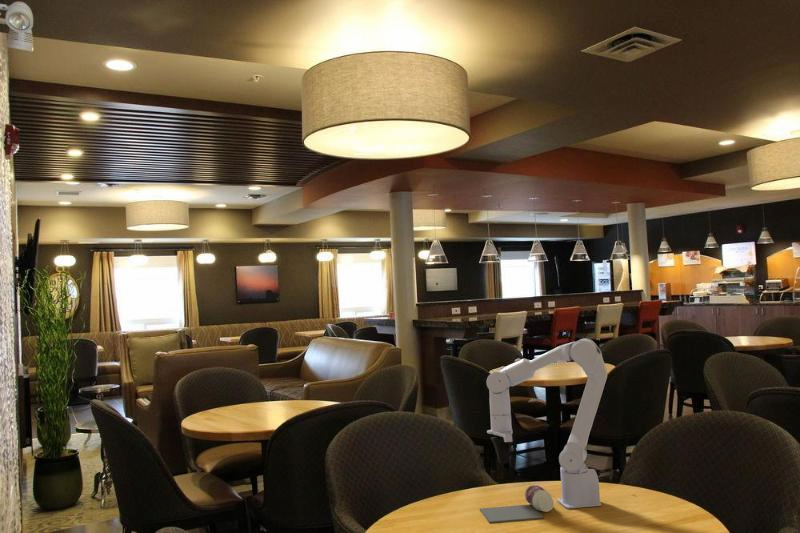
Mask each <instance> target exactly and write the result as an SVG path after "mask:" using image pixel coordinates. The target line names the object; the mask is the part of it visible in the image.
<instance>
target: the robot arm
mask: <svg viewBox="0 0 800 533" xmlns="http://www.w3.org/2000/svg"><path fill="white" fill-rule="evenodd" d="M558 361H563V362H564V361H565V362H570V361H573V362H575V363H576V364H577V365H578V366H579V367H580V368H582V370H583V373H584V374H585V376H587V379H586V380H587V381H586V383H585V387H584V390H583V394H582V396H581V400H580V403H579V407H578V409H577V413H576V415H575V419H574V422H573V425H572V428H571V432H570V435H569V437H568V440H567V443H566V444H565V445H564V447H563V450H562V451H561V452H560V453H559V456H558V462H559V465H560V467H559V468H560V470H559V471H560V486H561V487H560V488H561V489H560V490H561V498H559V497H558V498H557V499H556V501H558V503H559V504H561V505H562V506H563V507H564V508H566V509H580V508H591V507H601V506H602V503H601V496H600V482H599V477H598V474H597V471H596V470H595V469H594V468H588V466H587V465H586V463H585V461H586V459H587V457H588V451H587V445H588V440H589V436H590V432H591V430H592V427H593V423H594V420H595V417H596V414H597V412H598V408H599V404H600V402H601V398H602V395H603V391H604V388H605V384H606V382H607V378H608V372H607V368H606V364H605V361H604V358H603V354H602V350H601V349H600V347H599V346H598V345H597V344H596V343H595V341H593V340H592V339H590V338H587V337H586V338H580V339H579V340H576V341H572V342H569V343H565V344H564V343H563V344H562V345H559V346H557V347H555V348H553V349H551V350H548V351H547V352H545V353H543V354H541V355H539V356H537V357H535V358H533V359H532V360H530V359H527V358H522V359H521V358H516V359H515V360H514V362H513V363H510V364H508V365H507V366H503V365H502V366H501V367H499V369H500V370H499V369H498V370H495V371H493V372H492V373H490V374H489V375H488V376H487V379H486V387H487V389H488V390H489V392H488V393H489V400H488V401H489V414H490V429H488V430H486V433H487V434H489V435H494V436H493V437H490V440H491V442H492V444H493V447H494V449H495V453H496V458H497V461H498V464H500V465H505V464H506V465H508V462H509V457H510V451H511V447H512V446H513V443H514V438H513V427H512V413H511V412H512V411H511V398H510V397H511V396H510V387H515V386H517V385H519V384H522V383H523V382H526V381H528V380H530V379H532V378H534V375H535V372H536V371H537V370H540V369H543V368H545V367H548V366H549V365H551V364H554V363H557V362H558Z"/></svg>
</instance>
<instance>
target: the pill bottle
mask: <svg viewBox="0 0 800 533" xmlns="http://www.w3.org/2000/svg"><path fill="white" fill-rule="evenodd" d="M524 498H525V500H526V502H527V503H528V504H531V505H532V506H533V507H534V508H535V509H536V510H537V511H538V512H546V513H547V512H550V511H551V510H552V509H553V507H554V505H555V504H554V500H553V497H552V495H551V493H550V492H549V491H548V490H546V489H544V488H543V487H542V486H540V485H538V484H536V483H535V484H531V485H529V486H528V487H526V488H525V492H524Z"/></svg>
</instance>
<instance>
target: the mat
mask: <svg viewBox="0 0 800 533" xmlns="http://www.w3.org/2000/svg"><path fill="white" fill-rule="evenodd" d="M479 511H480V512H481V514H482V515H483V516H484V518H485V519H486V520H487V522H488V523H489V524H496V523H498V524H499V523H507V522H518V521H519V522H520V521H521V522H522V521H531V520H532V521H534V520H543V519H545V516H544V515H543V514H542V513H540V511H539V510H537V509H535V508H534V507H533V506H532V505H531V504H530V503H528V504H517V505H509V506H508V505H506V506H495V507H482V508H479Z"/></svg>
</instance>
